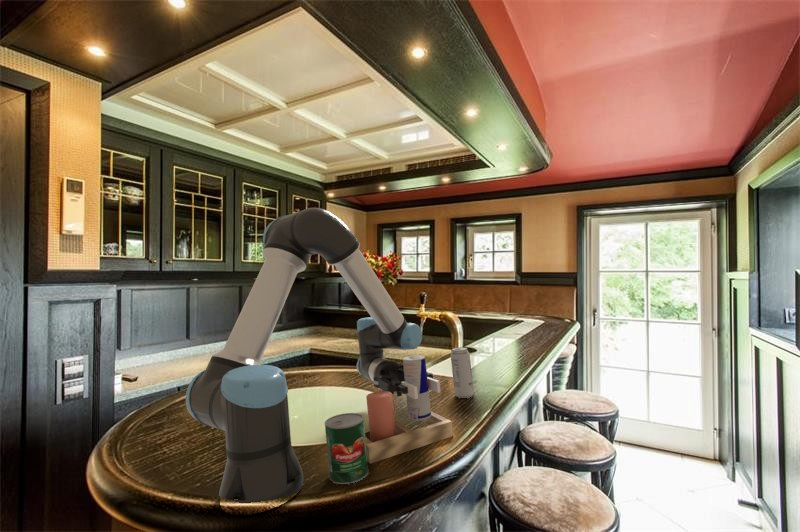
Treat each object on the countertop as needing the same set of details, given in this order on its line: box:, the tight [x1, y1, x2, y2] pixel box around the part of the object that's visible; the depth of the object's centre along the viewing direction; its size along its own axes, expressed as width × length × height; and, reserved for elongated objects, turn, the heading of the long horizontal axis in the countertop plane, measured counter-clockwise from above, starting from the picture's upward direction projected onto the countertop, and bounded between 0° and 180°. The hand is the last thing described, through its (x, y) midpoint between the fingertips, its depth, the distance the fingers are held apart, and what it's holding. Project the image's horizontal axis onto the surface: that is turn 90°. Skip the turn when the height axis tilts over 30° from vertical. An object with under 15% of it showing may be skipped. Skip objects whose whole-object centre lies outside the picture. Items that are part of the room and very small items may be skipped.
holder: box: [365, 410, 454, 464], centre depth 89 cm, size 22×10×4 cm, turn 117°
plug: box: [365, 390, 396, 443], centre depth 87 cm, size 6×6×12 cm
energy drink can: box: [450, 346, 475, 399], centre depth 119 cm, size 6×6×15 cm
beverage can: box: [402, 354, 432, 422], centre depth 92 cm, size 6×6×15 cm
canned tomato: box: [324, 412, 369, 485], centre depth 76 cm, size 8×8×11 cm
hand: (427, 389), depth 88 cm, fingers closed on beverage can, 5 cm apart
